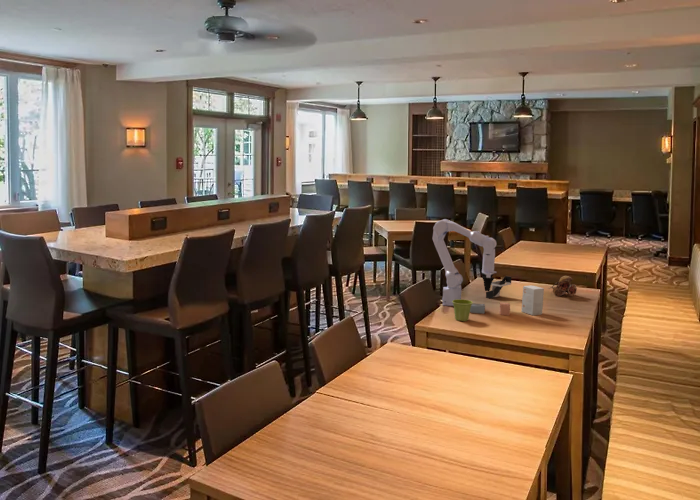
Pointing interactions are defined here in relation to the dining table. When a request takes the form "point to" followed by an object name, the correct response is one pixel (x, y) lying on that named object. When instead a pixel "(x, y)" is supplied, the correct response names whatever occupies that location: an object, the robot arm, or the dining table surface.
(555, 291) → the seed pod
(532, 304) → the small box
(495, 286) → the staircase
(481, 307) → the slotted gray housing
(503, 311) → the stub
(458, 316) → the plant pot
